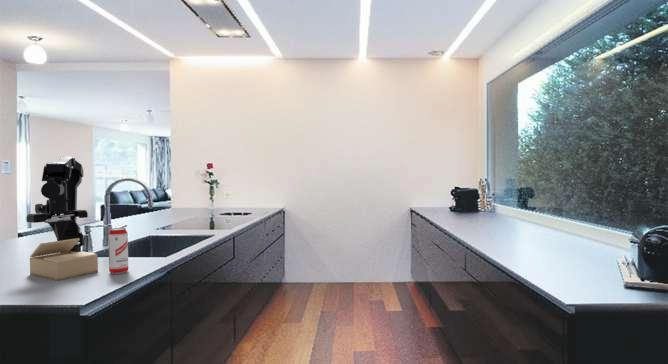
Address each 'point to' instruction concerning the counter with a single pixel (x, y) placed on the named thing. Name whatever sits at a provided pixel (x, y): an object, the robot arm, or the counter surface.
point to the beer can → (118, 250)
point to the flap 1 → (54, 247)
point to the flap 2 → (70, 256)
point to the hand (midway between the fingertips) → (59, 239)
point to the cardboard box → (62, 267)
